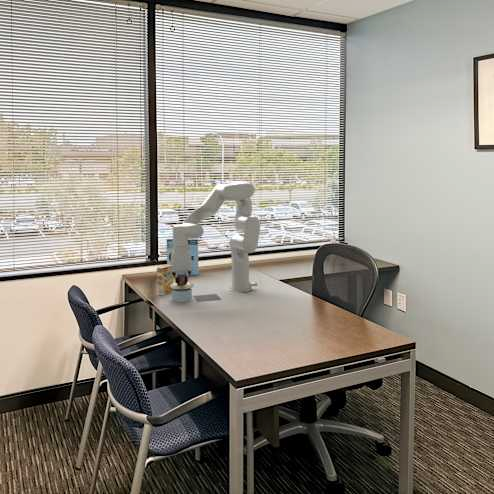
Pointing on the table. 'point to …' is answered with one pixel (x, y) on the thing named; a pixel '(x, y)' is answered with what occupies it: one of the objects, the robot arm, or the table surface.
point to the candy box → (164, 280)
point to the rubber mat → (207, 297)
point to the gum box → (193, 254)
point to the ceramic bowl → (182, 295)
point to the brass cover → (181, 283)
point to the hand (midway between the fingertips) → (181, 283)
